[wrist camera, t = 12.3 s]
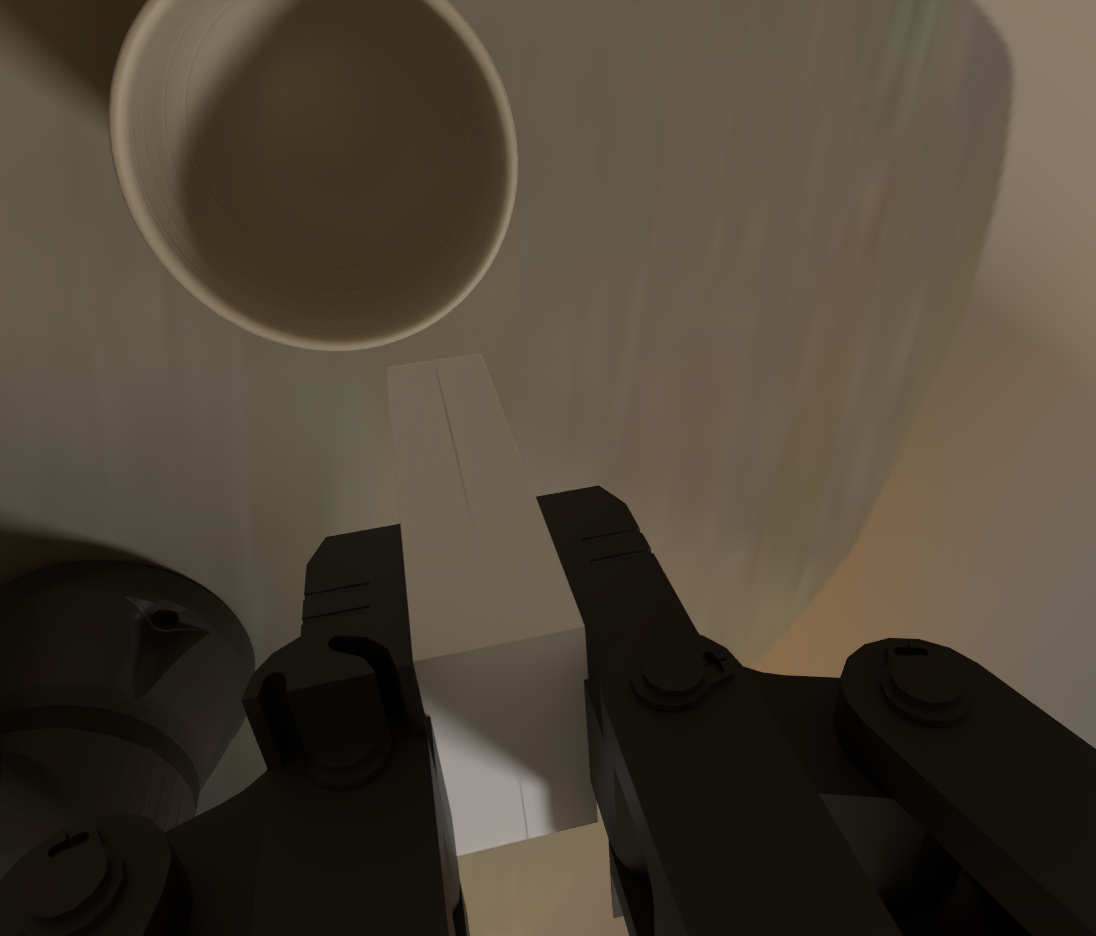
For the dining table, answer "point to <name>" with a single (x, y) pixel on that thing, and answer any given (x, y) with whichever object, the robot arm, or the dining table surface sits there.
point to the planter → (315, 161)
